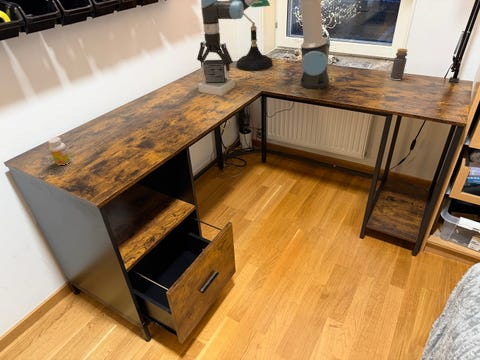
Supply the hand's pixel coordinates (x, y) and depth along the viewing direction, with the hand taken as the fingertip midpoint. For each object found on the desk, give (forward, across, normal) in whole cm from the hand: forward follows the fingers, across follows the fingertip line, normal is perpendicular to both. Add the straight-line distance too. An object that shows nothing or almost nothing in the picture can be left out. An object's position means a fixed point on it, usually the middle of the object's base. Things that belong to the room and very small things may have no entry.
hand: (215, 75), depth 174 cm
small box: (+3, 0, 0) cm, 3 cm away
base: (+7, 0, 0) cm, 7 cm away
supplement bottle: (+7, -13, -86) cm, 87 cm away
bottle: (+7, +82, +49) cm, 96 cm away
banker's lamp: (+7, 0, +44) cm, 44 cm away
